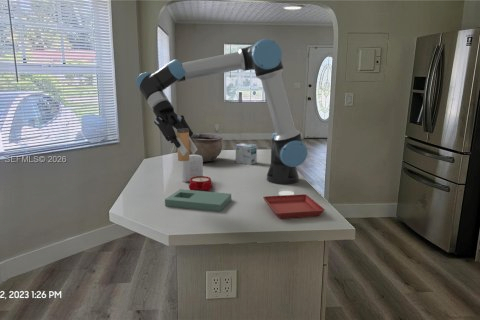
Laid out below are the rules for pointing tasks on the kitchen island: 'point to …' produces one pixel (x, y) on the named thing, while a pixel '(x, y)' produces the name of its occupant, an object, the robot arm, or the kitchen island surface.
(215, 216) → the kitchen island surface
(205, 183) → the alarm clock
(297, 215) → the plant saucer
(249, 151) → the light bulb box
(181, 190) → the socket board
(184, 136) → the plug
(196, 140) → the ceramic bowl
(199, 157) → the photo printer
